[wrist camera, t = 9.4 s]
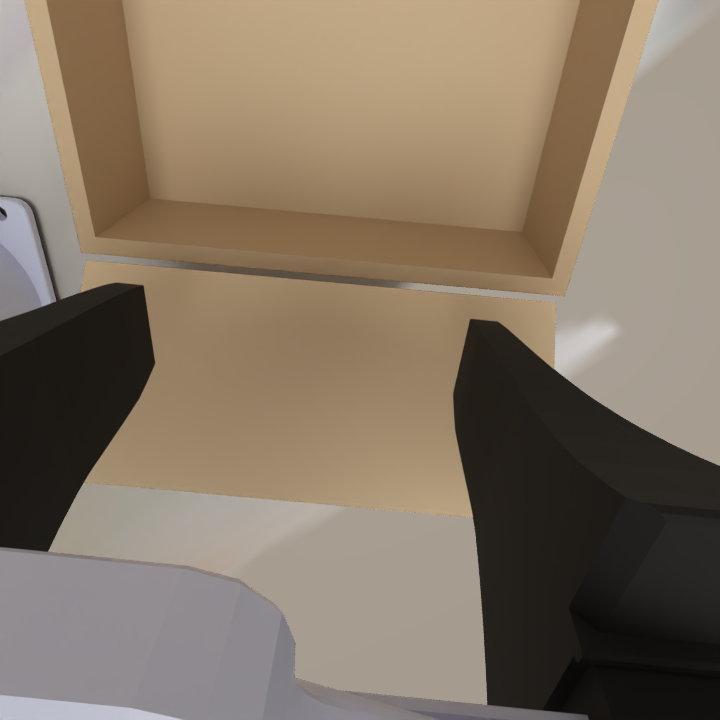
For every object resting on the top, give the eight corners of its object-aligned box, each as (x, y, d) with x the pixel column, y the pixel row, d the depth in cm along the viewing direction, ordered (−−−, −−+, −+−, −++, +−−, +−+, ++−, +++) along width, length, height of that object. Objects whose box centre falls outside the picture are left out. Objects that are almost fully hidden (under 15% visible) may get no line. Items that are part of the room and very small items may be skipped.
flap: (86, 260, 15) (93, 265, 15) (43, 478, 14) (52, 478, 14) (555, 302, 15) (550, 306, 15) (550, 524, 13) (545, 522, 14)
